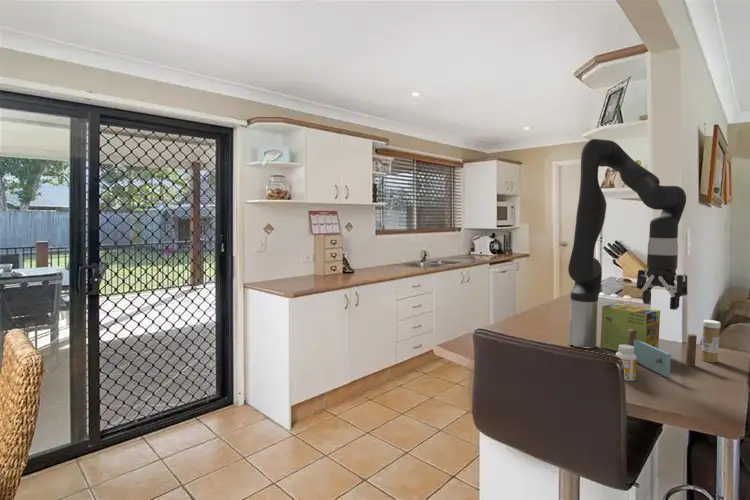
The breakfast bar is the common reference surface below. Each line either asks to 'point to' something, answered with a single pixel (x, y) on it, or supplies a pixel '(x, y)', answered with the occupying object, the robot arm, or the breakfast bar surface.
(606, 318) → the protein box
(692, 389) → the breakfast bar surface
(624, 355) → the supplement bottle
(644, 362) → the door
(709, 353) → the sprinkles bottle
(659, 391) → the breakfast bar surface
